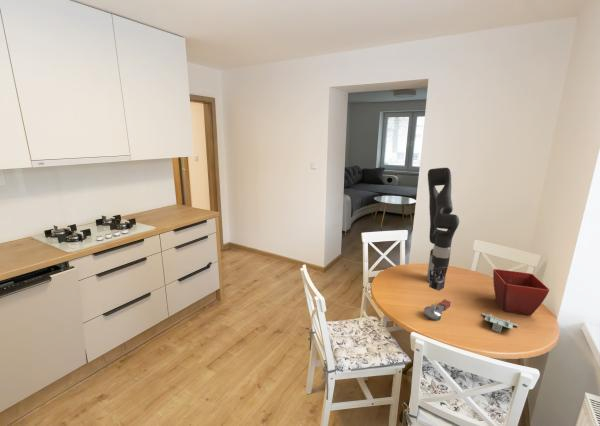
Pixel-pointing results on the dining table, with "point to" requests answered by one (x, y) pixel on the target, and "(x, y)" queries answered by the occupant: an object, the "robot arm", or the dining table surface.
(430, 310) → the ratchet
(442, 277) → the grey block
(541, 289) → the plant pot
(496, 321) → the metal bracket
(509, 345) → the dining table surface
